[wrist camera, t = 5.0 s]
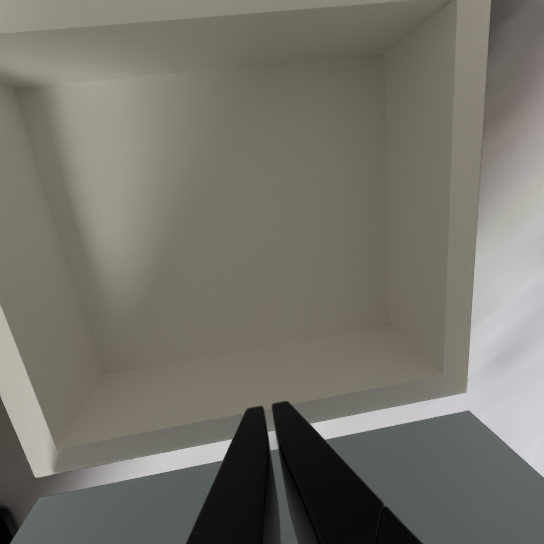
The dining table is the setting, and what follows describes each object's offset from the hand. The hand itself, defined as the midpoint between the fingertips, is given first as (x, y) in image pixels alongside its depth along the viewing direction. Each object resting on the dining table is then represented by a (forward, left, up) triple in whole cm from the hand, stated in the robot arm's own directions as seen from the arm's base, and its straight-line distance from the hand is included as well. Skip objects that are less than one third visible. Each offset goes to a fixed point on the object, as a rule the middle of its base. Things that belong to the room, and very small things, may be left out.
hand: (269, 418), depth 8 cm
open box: (+4, 0, -8) cm, 9 cm away
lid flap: (-3, 0, +5) cm, 6 cm away
